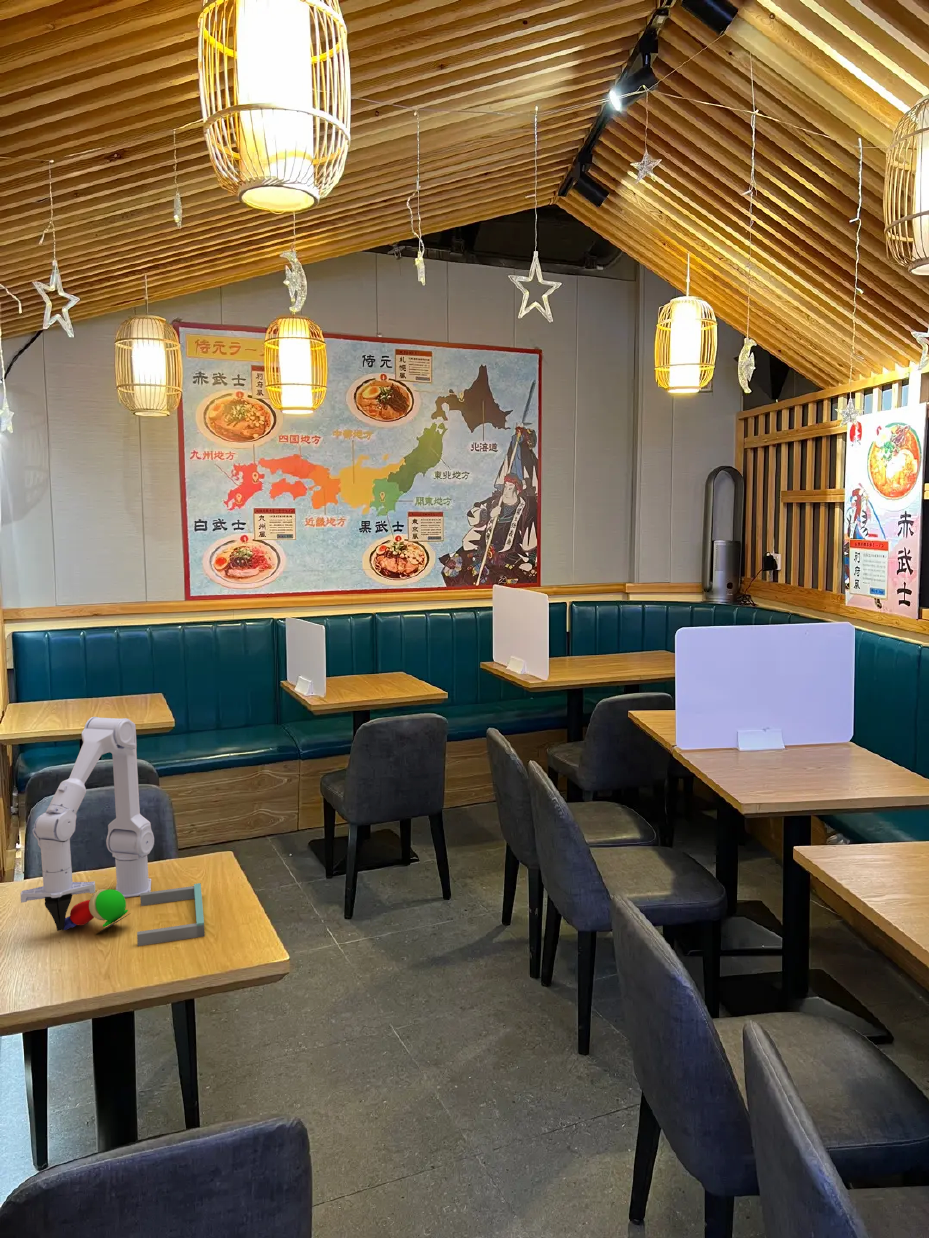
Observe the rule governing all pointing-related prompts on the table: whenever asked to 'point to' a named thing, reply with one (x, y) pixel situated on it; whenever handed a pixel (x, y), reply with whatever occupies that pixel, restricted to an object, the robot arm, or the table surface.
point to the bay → (176, 931)
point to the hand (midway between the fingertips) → (60, 928)
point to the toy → (98, 909)
